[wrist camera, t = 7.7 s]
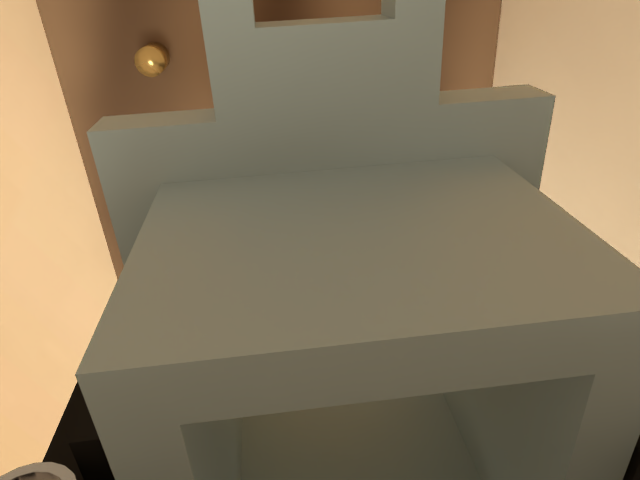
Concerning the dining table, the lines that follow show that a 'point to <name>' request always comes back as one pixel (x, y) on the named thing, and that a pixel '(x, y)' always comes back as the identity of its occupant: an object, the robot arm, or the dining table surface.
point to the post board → (191, 62)
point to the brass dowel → (152, 59)
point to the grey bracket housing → (354, 273)
